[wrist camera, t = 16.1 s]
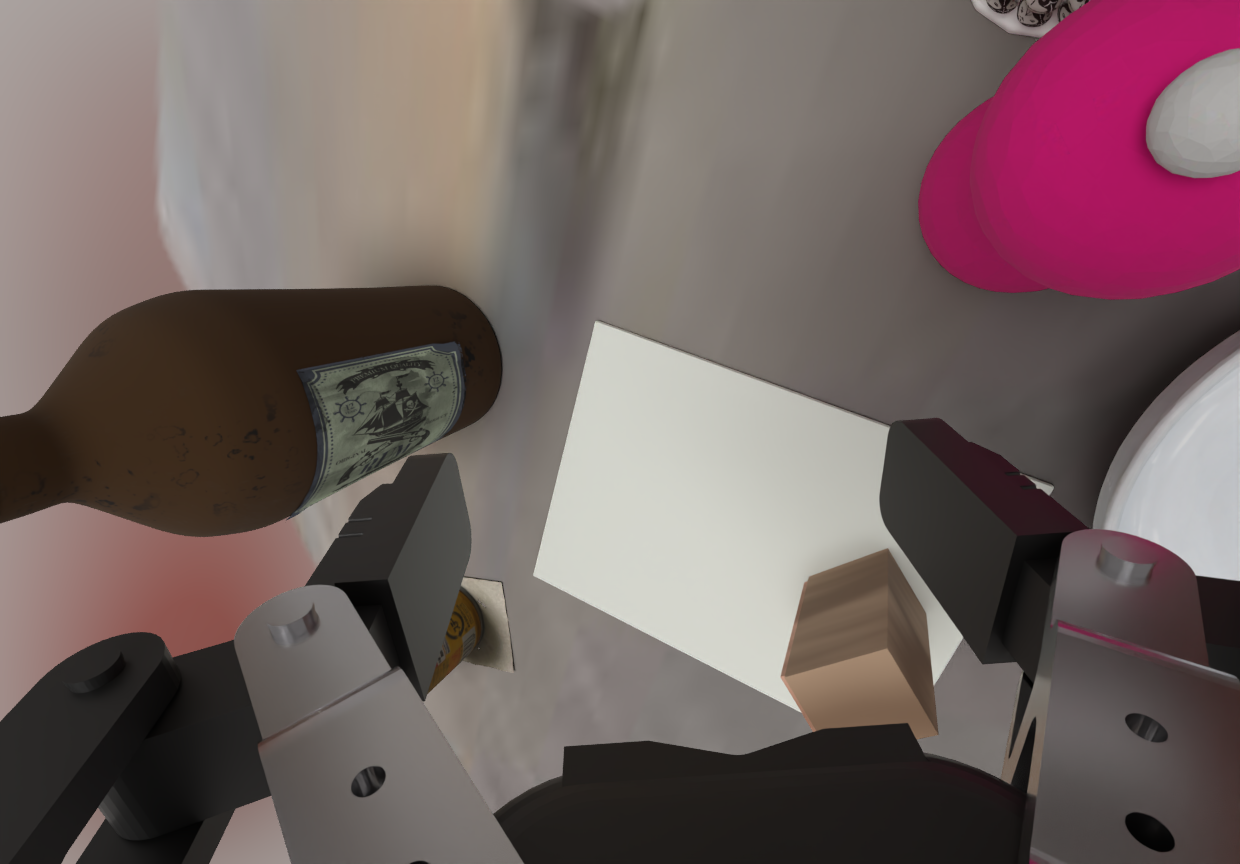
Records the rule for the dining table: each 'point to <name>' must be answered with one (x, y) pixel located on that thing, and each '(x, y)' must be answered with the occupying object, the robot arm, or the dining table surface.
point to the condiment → (476, 630)
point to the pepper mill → (1099, 158)
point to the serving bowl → (1184, 468)
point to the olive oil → (247, 403)
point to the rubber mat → (714, 505)
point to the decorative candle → (1027, 14)
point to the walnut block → (861, 649)
